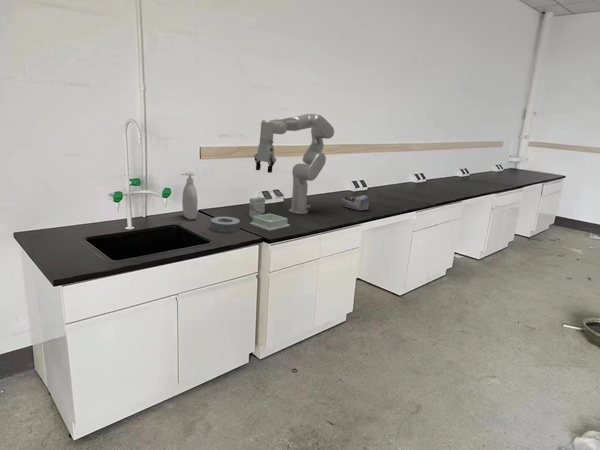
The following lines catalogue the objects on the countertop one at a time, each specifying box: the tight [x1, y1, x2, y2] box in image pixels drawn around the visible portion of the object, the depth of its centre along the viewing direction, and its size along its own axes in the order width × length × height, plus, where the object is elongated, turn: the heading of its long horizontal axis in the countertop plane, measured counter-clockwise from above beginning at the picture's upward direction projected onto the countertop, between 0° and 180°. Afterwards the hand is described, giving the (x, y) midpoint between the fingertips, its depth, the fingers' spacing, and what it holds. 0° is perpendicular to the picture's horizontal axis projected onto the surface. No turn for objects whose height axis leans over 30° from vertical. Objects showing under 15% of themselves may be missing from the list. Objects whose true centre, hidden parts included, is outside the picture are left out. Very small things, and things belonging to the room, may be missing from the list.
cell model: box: [340, 194, 370, 211], centre depth 291 cm, size 13×11×20 cm
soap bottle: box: [181, 170, 198, 221], centre depth 233 cm, size 14×8×27 cm, turn 41°
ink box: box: [249, 196, 266, 219], centre depth 248 cm, size 9×5×12 cm, turn 141°
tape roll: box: [210, 216, 241, 234], centre depth 220 cm, size 15×15×5 cm
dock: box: [249, 213, 291, 232], centre depth 233 cm, size 16×16×4 cm
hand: (263, 171), depth 243 cm, fingers open, 9 cm apart
